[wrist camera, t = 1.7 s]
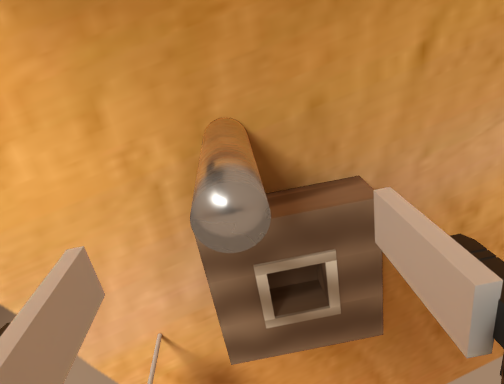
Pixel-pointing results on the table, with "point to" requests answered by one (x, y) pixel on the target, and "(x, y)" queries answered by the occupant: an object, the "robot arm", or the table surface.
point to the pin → (228, 191)
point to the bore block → (302, 274)
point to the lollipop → (154, 359)
